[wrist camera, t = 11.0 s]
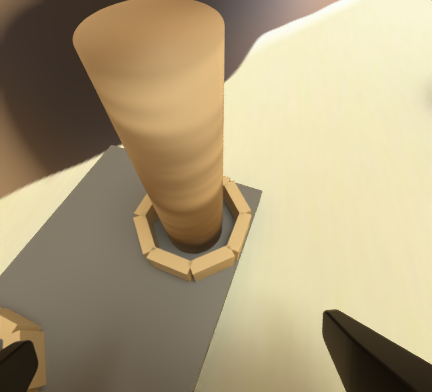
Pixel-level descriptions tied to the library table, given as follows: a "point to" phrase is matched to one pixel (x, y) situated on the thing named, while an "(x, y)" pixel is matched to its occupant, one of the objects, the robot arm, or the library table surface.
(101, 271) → the board
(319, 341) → the library table surface
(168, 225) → the pin
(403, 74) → the library table surface
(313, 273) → the library table surface
